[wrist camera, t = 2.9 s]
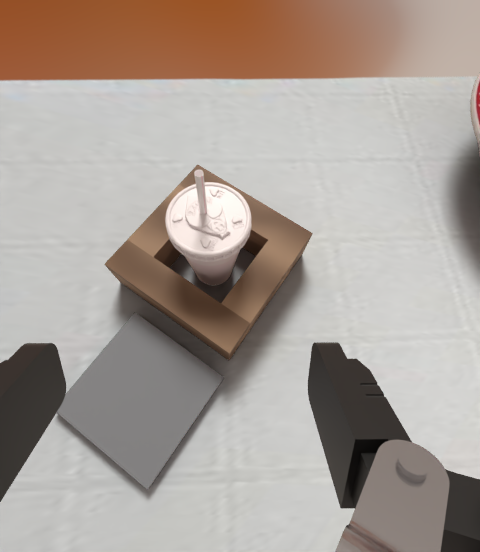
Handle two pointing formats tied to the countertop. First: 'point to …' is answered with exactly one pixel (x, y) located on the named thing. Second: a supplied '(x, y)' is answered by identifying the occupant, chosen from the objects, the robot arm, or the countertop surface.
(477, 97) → the ceramic bowl
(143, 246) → the frame
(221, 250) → the smoothie
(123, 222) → the countertop surface
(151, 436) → the slate coaster
